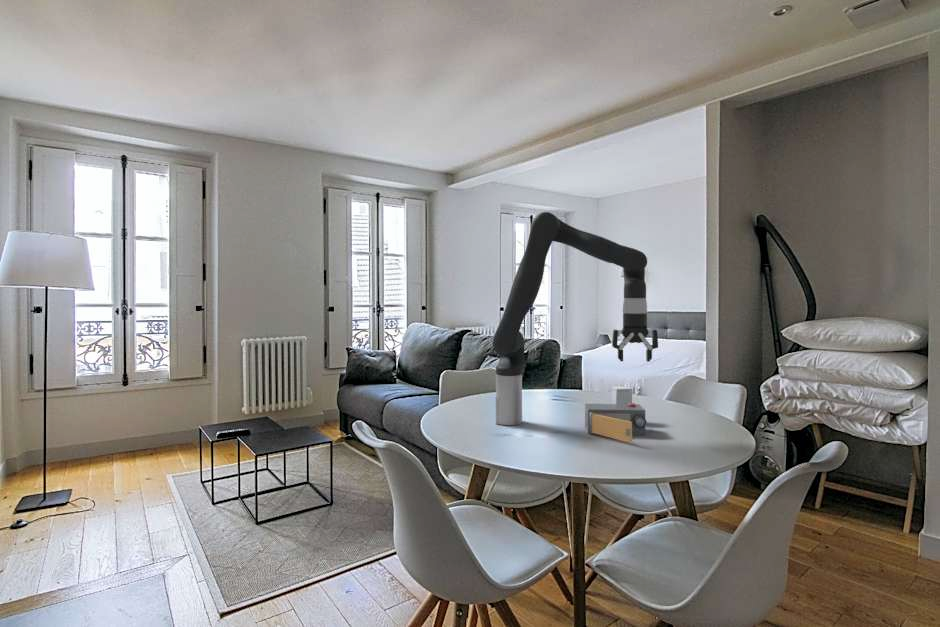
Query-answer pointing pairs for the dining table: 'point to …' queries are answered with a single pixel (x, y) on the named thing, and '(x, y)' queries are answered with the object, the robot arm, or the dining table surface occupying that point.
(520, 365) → the robot arm
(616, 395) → the skincare box
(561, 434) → the dining table surface
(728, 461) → the dining table surface
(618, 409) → the camera body
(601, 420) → the door
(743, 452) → the dining table surface
